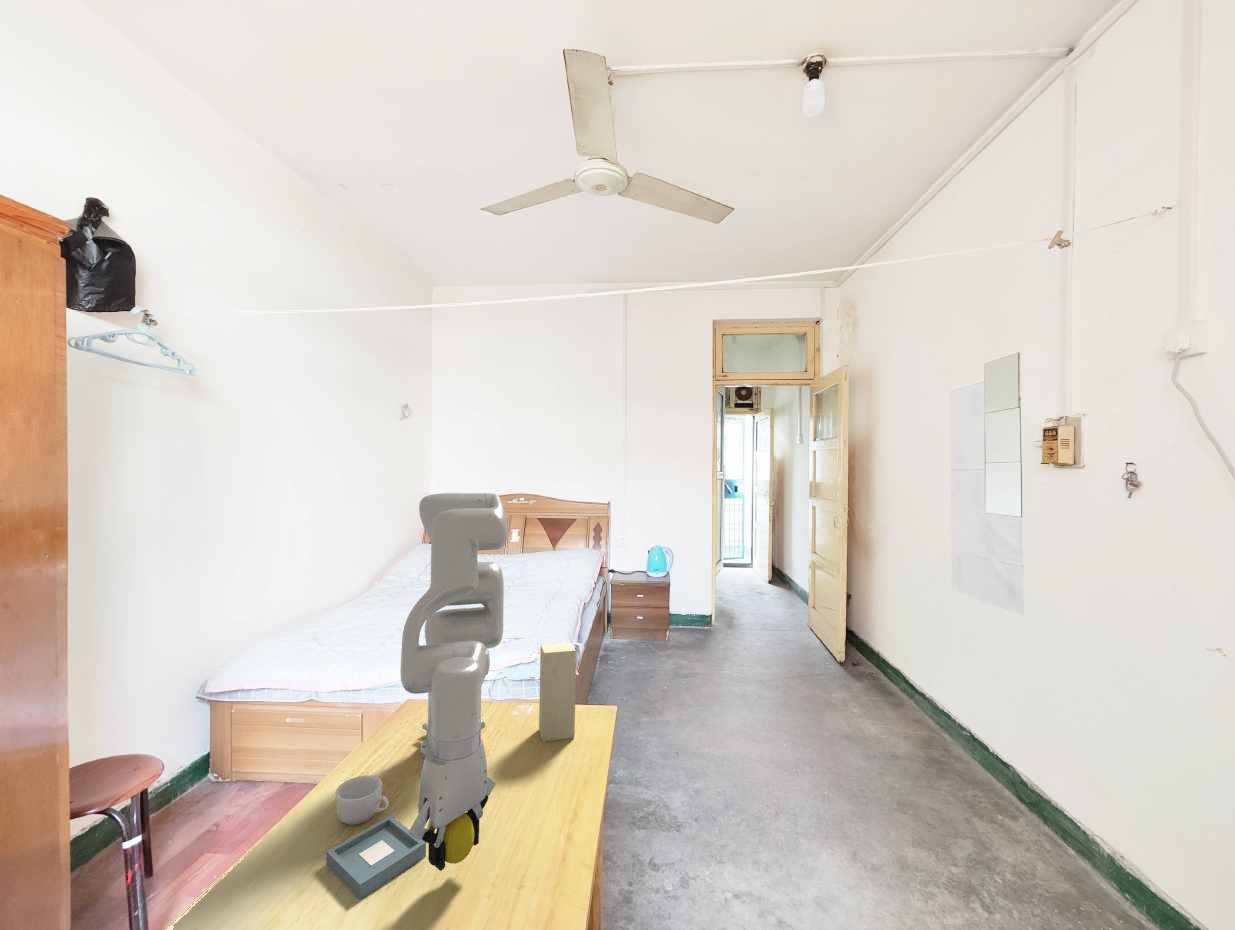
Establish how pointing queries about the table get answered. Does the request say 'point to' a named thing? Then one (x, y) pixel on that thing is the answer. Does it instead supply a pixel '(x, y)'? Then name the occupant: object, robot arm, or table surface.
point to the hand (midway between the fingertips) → (454, 851)
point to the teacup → (359, 799)
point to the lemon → (458, 839)
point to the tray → (375, 856)
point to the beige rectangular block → (557, 691)
